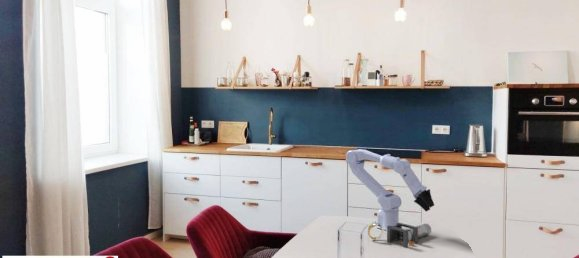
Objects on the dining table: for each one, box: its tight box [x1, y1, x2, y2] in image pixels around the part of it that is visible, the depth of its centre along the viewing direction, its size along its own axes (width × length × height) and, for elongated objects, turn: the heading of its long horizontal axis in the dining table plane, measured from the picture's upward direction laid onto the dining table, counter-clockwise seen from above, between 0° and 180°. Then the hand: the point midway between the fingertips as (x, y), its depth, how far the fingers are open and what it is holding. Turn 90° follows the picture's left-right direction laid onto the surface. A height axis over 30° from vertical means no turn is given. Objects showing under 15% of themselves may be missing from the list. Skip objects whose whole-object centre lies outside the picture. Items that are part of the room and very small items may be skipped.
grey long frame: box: [401, 222, 432, 242], centre depth 211 cm, size 16×5×5 cm, turn 132°
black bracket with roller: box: [386, 222, 419, 248], centre depth 204 cm, size 10×8×7 cm
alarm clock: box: [367, 221, 384, 241], centre depth 208 cm, size 7×3×8 cm, turn 91°
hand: (430, 208), depth 212 cm, fingers open, 7 cm apart
